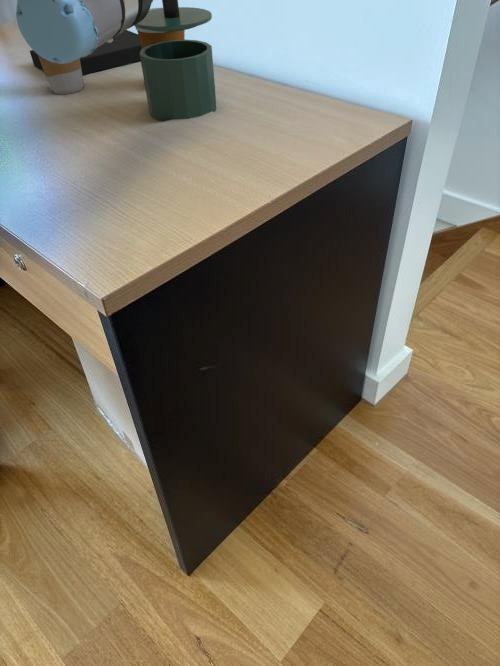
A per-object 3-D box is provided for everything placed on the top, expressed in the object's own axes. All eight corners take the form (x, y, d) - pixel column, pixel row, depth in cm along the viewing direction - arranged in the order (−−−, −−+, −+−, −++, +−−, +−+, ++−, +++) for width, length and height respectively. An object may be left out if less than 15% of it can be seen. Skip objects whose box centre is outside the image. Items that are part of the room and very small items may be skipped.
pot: (142, 105, 91) (131, 46, 85) (202, 93, 95) (196, 36, 88) (162, 127, 84) (152, 65, 77) (226, 113, 87) (222, 52, 80)
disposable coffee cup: (134, 85, 99) (121, 14, 91) (173, 73, 104) (164, 4, 96) (163, 96, 94) (152, 22, 86) (203, 83, 99) (196, 11, 91)
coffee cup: (97, 88, 99) (76, -3, 89) (58, 99, 95) (32, 6, 85) (76, 78, 104) (54, -9, 93) (38, 89, 100) (10, -1, 89)
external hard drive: (158, 56, 112) (156, 41, 110) (58, 81, 103) (54, 65, 101) (128, 43, 121) (125, 29, 119) (33, 65, 111) (29, 50, 109)
